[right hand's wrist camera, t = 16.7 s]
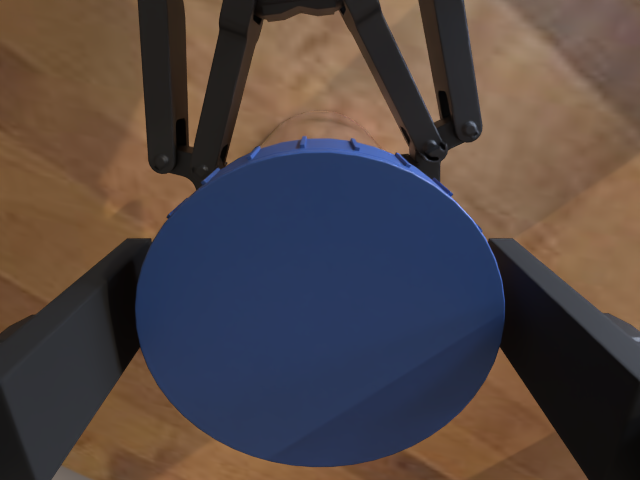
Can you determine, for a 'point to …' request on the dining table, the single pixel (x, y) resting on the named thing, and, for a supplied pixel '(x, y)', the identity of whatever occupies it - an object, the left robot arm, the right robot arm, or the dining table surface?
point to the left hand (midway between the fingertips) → (328, 281)
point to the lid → (319, 304)
